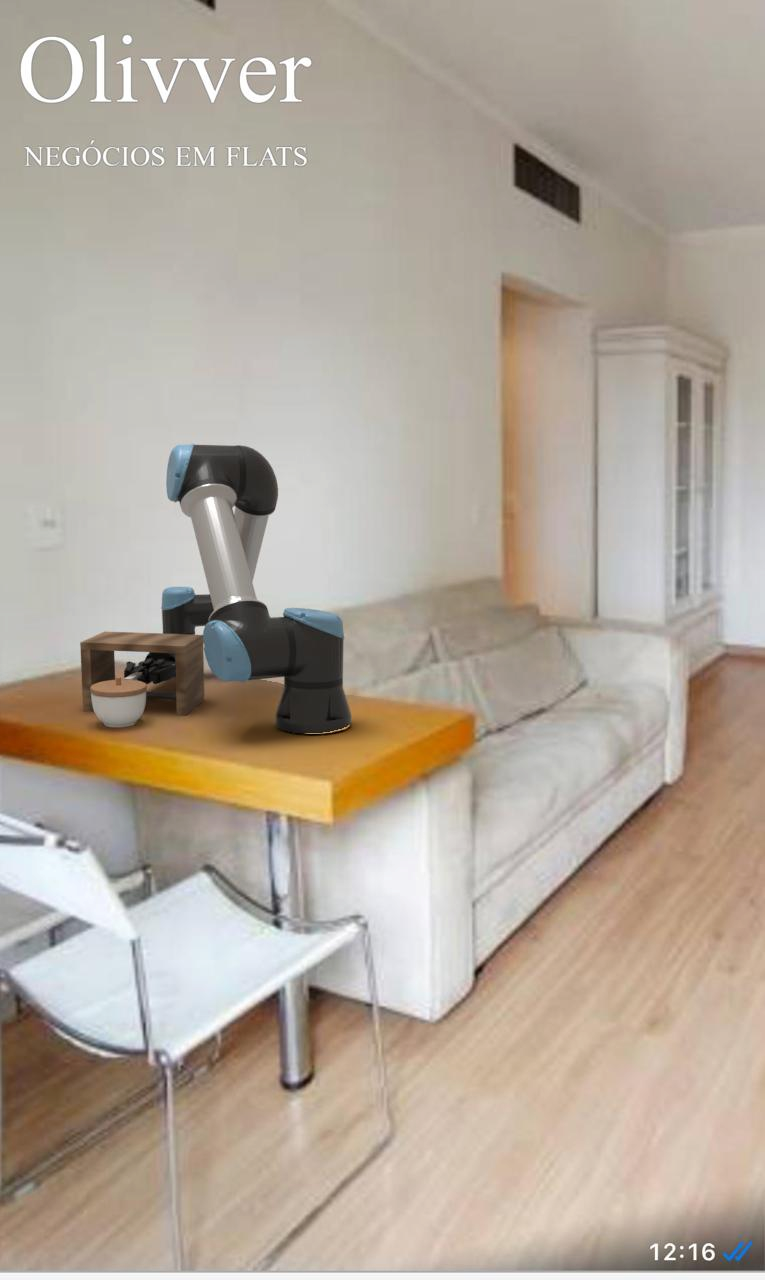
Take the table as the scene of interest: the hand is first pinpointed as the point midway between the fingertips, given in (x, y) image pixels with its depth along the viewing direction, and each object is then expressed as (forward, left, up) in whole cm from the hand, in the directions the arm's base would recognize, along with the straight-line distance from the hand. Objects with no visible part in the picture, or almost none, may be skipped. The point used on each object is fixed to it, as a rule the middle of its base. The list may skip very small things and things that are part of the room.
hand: (127, 685), depth 195 cm
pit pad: (0, -17, -7) cm, 19 cm away
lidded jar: (0, +6, -7) cm, 9 cm away
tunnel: (0, -9, -7) cm, 11 cm away
